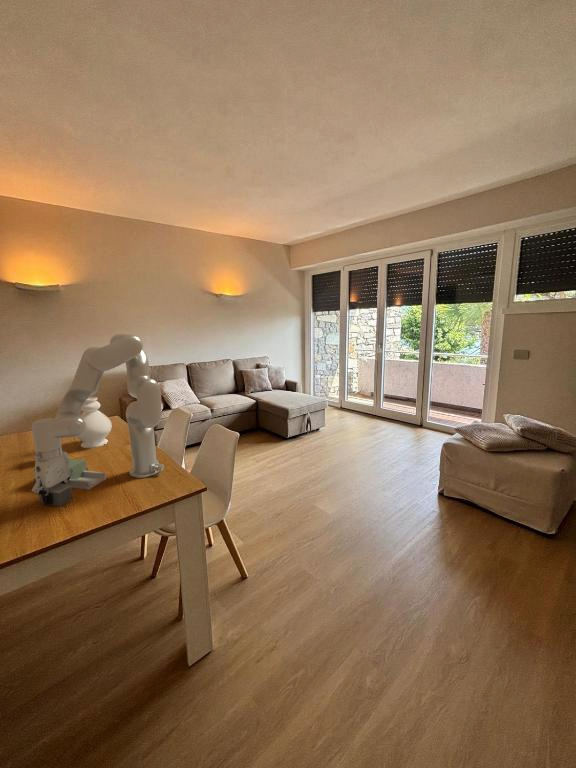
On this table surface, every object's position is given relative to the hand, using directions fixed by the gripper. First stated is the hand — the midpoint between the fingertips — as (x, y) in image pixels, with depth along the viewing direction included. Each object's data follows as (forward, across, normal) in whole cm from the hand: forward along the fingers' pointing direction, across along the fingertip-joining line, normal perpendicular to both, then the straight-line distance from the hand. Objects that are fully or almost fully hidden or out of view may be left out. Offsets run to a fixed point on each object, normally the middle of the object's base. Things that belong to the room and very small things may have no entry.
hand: (56, 498), depth 120 cm
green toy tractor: (+1, +14, +7) cm, 16 cm away
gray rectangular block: (+1, 0, 0) cm, 1 cm away
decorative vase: (+1, +52, +31) cm, 61 cm away
